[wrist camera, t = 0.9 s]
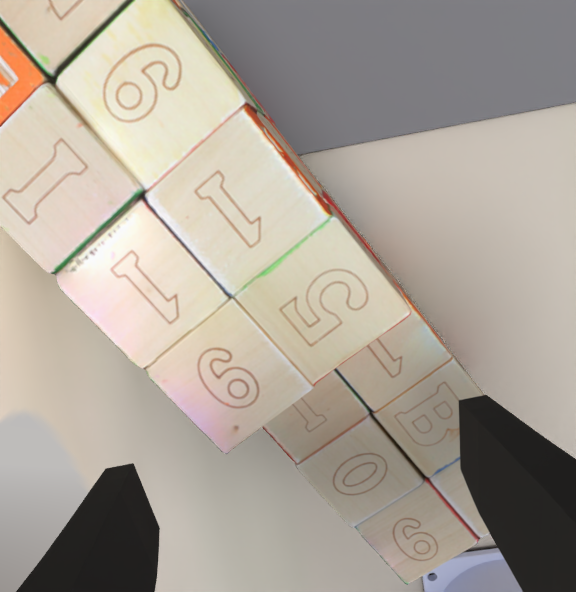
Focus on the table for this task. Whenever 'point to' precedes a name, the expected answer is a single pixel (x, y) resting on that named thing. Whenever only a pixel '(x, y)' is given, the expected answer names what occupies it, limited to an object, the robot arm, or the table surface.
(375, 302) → the stack of blocks
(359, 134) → the mat
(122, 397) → the table surface
